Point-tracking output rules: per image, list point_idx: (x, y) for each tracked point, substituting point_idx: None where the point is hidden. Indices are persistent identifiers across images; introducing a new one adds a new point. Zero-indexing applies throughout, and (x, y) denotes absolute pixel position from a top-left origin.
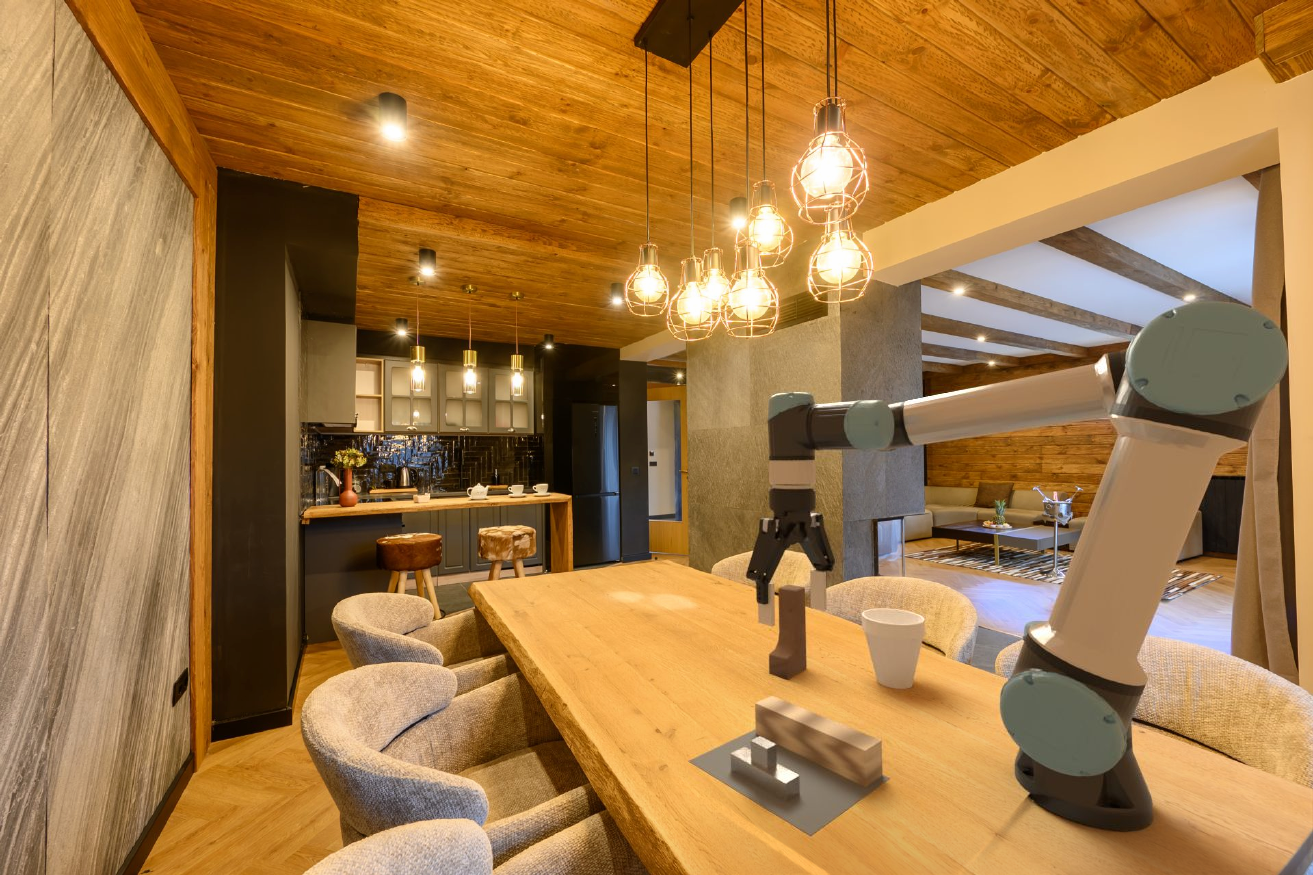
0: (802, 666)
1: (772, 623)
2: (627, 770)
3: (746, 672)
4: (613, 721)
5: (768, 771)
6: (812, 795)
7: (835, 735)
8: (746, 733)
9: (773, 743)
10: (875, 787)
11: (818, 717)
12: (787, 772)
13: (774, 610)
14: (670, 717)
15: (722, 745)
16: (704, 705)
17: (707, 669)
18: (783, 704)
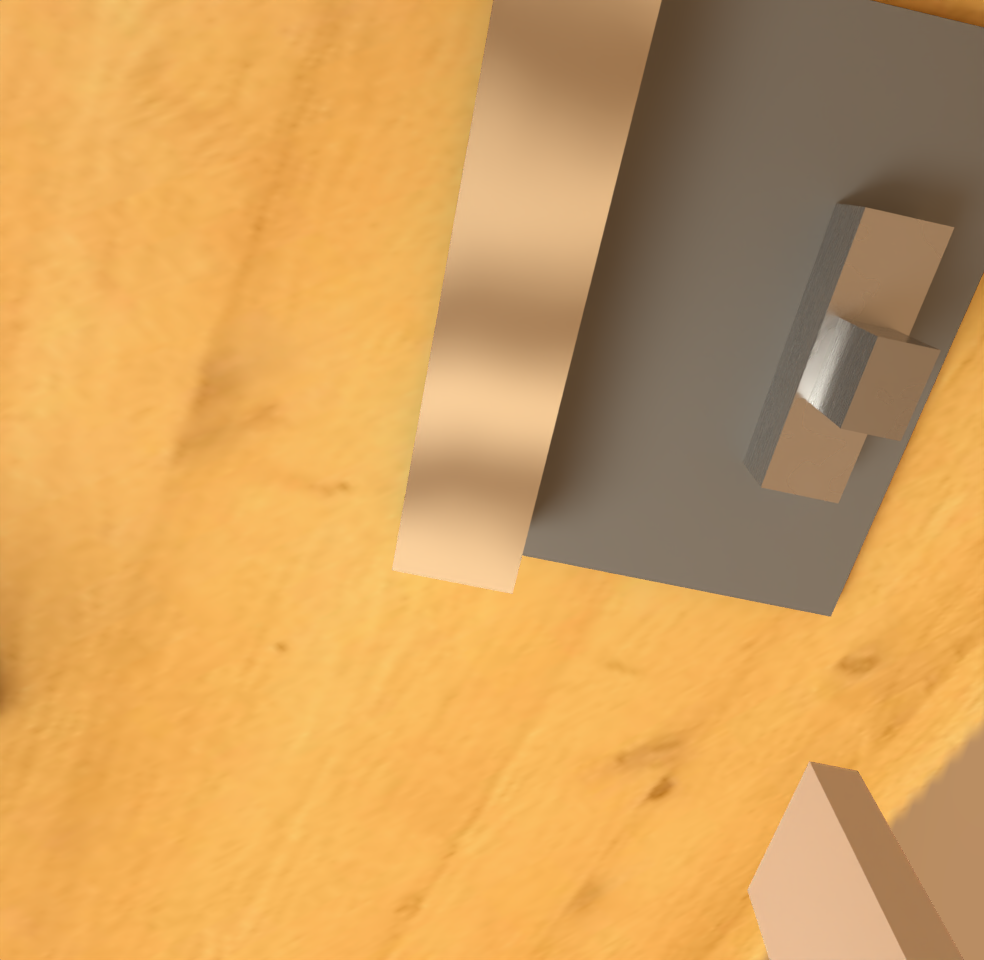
0: None
1: (862, 790)
2: (929, 729)
3: (35, 791)
4: (689, 910)
5: (898, 325)
6: (822, 156)
7: (602, 148)
8: (534, 557)
9: (878, 349)
10: None
11: (468, 299)
12: (868, 258)
13: (885, 903)
14: (555, 806)
15: (669, 581)
16: (400, 771)
17: (133, 899)
18: (443, 491)
